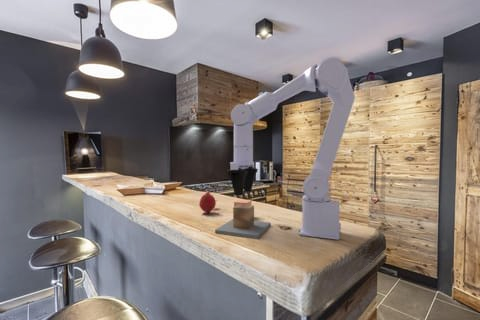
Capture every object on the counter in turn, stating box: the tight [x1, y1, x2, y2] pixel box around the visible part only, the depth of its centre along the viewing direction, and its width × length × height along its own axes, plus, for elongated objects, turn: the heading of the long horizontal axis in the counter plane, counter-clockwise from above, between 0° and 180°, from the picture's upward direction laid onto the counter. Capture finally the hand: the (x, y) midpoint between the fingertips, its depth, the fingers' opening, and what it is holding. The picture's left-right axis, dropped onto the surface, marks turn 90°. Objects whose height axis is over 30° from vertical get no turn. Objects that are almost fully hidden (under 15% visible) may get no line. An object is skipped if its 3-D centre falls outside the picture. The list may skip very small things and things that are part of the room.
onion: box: [199, 190, 217, 214], centre depth 82 cm, size 6×6×8 cm
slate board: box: [214, 218, 272, 240], centre depth 63 cm, size 12×12×1 cm
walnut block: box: [232, 204, 255, 229], centre depth 63 cm, size 4×4×6 cm
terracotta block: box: [233, 199, 252, 207], centre depth 76 cm, size 4×4×6 cm
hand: (243, 193), depth 67 cm, fingers open, 7 cm apart
